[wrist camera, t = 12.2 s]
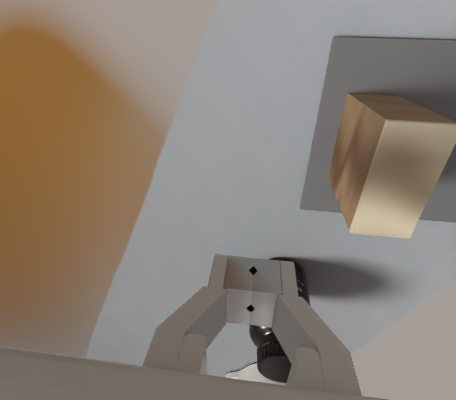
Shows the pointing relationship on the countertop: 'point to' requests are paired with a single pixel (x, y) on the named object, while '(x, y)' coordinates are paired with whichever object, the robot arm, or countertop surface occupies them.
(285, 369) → the supplement bottle
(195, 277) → the countertop surface
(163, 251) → the countertop surface
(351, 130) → the slab
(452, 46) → the mat
